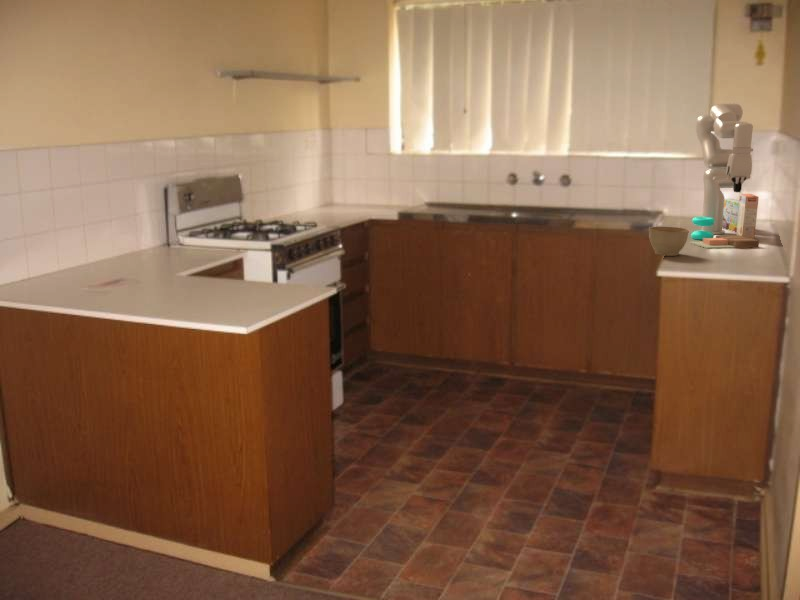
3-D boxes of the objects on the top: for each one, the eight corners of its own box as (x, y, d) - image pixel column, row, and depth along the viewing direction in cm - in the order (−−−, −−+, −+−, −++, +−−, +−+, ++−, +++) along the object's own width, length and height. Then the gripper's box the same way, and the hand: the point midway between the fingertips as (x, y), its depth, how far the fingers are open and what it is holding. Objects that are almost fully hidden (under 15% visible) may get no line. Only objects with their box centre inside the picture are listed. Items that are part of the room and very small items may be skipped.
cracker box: (755, 242, 387) (759, 196, 382) (741, 241, 388) (745, 196, 383) (749, 237, 400) (753, 193, 395) (735, 237, 401) (739, 193, 397)
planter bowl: (676, 259, 343) (678, 232, 340) (640, 254, 354) (641, 229, 351) (693, 254, 354) (695, 228, 352) (657, 250, 365) (659, 225, 363)
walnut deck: (715, 242, 386) (715, 235, 385) (737, 241, 388) (738, 235, 387) (735, 248, 370) (735, 241, 369) (758, 247, 371) (758, 240, 371)
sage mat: (689, 243, 384) (689, 241, 383) (715, 242, 385) (716, 241, 385) (707, 248, 368) (707, 247, 368) (734, 247, 370) (734, 246, 370)
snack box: (720, 227, 433) (722, 198, 429) (730, 227, 433) (733, 198, 430) (739, 233, 412) (742, 203, 409) (750, 233, 412) (753, 203, 409)
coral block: (702, 243, 380) (703, 238, 379) (721, 242, 381) (721, 237, 380) (709, 245, 374) (709, 240, 373) (728, 244, 375) (728, 239, 375)
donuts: (719, 218, 391) (701, 219, 388) (717, 240, 393) (699, 241, 390) (705, 216, 400) (687, 216, 397) (704, 236, 402) (686, 237, 399)
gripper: (752, 150, 381) (748, 190, 386) (721, 150, 379) (717, 191, 384) (761, 151, 373) (756, 192, 378) (729, 152, 372) (725, 193, 377)
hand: (737, 191), depth 381 cm, fingers closed
